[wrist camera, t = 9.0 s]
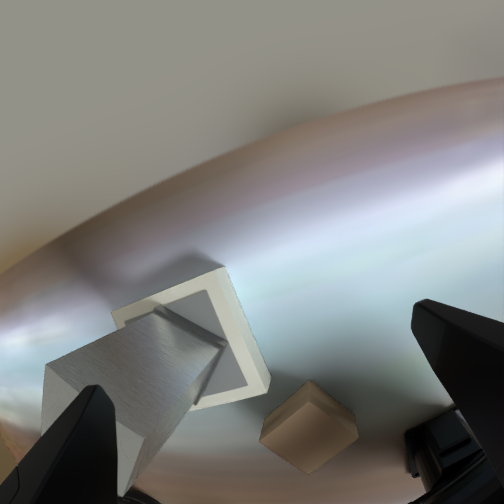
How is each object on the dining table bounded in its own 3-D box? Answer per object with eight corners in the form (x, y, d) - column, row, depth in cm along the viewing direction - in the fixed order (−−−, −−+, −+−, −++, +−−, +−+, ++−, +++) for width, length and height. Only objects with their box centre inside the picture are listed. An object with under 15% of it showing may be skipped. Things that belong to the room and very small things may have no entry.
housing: (228, 341, 19) (142, 447, 8) (200, 399, 20) (119, 508, 9) (161, 304, 20) (32, 361, 9) (139, 363, 21) (31, 440, 9)
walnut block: (353, 413, 21) (359, 438, 18) (309, 448, 22) (308, 474, 18) (309, 378, 22) (308, 400, 18) (265, 417, 22) (258, 441, 19)
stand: (271, 377, 22) (266, 394, 19) (172, 402, 23) (159, 417, 21) (224, 266, 22) (213, 270, 19) (127, 305, 24) (109, 312, 21)
